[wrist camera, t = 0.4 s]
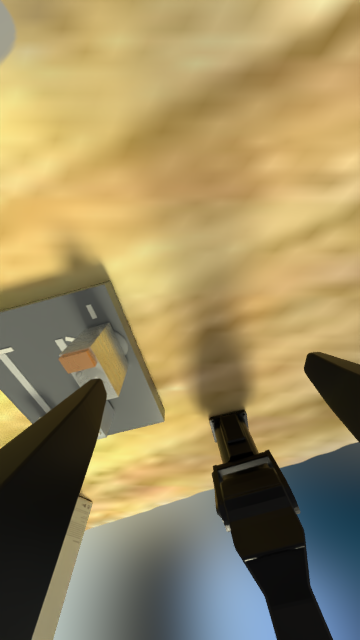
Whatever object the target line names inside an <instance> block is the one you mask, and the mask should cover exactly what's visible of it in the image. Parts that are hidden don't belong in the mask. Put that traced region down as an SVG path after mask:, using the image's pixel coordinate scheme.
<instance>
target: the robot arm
mask: <svg viewBox="0 0 360 640" xmlns="http://www.w3.org/2000/svg"><path fill="white" fill-rule="evenodd" d="M304 371H305V374H306V375H307V376H308V378H309V379H310V381H311V382H312V383H313V385H314V386H315V388H316V389H317V390H318V392H319V393H320V395H321V396H322V397H323V399H324V400H325V402H326V403H327V404H328V406H329V407H330V408H331V409H332V411H333V412H334V413H335V414H336V415H337V417H338V418H339V419H340V420H341V421H342V422H343V424H344V425H345V426H346V427H347V428H348V430H349V431H350V432H351V433H352V434H353V435H354V437H355V438H356V439H357V440H358V441H359V443H360V364H356V363H353V362H350V361H347V360H344V359H340V358H337V357H334V356H331V355H328V354H325V353H321V352H312V353H309V354H308V355H307V358H306V362H305V366H304ZM106 399H107V392H106V389H105V387H104V384H103V381H102V379H100V378H98V379H91V380H89V381H88V382H86V383H85V384H84V385H83V386H81V387H80V388H79V389H77V390H76V391H75V392H74V393H72V394H71V395H70V396H68V397H67V398H66V399H64V400H63V401H62V402H61V403H59V404H58V405H57V406H55V407H54V408H53V409H51V410H50V411H49V412H48V413H46V414H45V415H44V416H42V417H41V418H40V419H38V420H37V421H36V422H35V423H33V424H32V425H31V426H29V427H28V428H27V429H25V430H24V431H23V432H22V433H20V434H19V435H18V436H16V437H15V438H14V439H12V440H11V441H10V442H9V443H7V444H6V445H5V446H3V447H2V448H1V449H0V640H32V637H33V634H34V631H35V628H36V624H37V621H38V618H39V615H40V612H41V609H42V606H43V603H44V600H45V597H46V594H47V591H48V588H49V585H50V582H51V579H52V576H53V573H54V570H55V567H56V564H57V560H58V557H59V554H60V551H61V548H62V545H63V542H64V539H65V536H66V533H67V530H68V527H69V524H70V521H71V518H72V515H73V512H74V509H75V506H76V503H77V499H78V496H79V493H80V490H81V487H82V484H83V481H84V478H85V475H86V472H87V469H88V466H89V463H90V460H91V457H92V454H93V451H94V448H95V445H96V441H97V438H98V434H99V430H100V426H101V422H102V417H103V413H104V408H105V404H106ZM209 421H210V425H211V429H212V433H213V436H214V440H215V442H217V443H218V447H219V451H220V454H221V458H222V462H223V464H221V465H214V466H213V470H214V471H213V473H212V477H213V482H214V489H215V502H216V511H217V514H218V515H219V516H220V517H221V518H222V521H223V523H224V525H225V527H226V530H227V532H230V531H231V534H232V538H233V543H234V546H235V548H236V551H237V552H238V554H239V556H240V557H241V558H242V560H243V562H244V564H245V565H246V567H247V568H248V570H249V571H250V573H251V575H252V576H253V578H254V580H255V581H256V583H257V585H258V586H259V587H260V589H261V591H262V593H263V594H264V596H265V599H266V602H267V606H268V609H269V613H270V616H271V620H272V623H273V627H274V630H275V634H276V638H277V640H333V638H332V636H331V634H330V631H329V629H328V627H327V624H326V622H325V620H324V617H323V615H322V613H321V610H320V608H319V605H318V603H317V601H316V598H315V596H314V594H313V591H312V589H311V586H310V579H309V570H308V561H307V551H306V542H305V533H304V529H303V527H302V525H301V523H300V520H299V518H298V516H297V514H299V513H300V510H299V507H298V505H297V502H296V500H295V497H294V495H293V493H292V491H291V489H290V487H289V485H288V483H287V481H286V479H285V477H284V476H283V474H282V472H281V470H280V468H279V467H278V465H277V463H276V461H275V460H274V458H273V456H272V454H271V453H270V451H269V450H266V451H265V452H262V453H259V452H258V450H257V448H256V446H255V443H254V441H253V439H252V437H251V434H250V432H249V429H248V421H247V414H246V411H245V410H242V411H238V412H234V413H229V414H225V415H221V416H217V417H213V418H210V419H209Z"/></svg>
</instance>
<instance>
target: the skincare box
mask: <svg viewBox="0 0 360 640" xmlns="http://www.w3.org/2000/svg"><path fill="white" fill-rule="evenodd" d="M92 504H93V503H92V502H90V501H88V500H86V499H84V498H81V497H79V496H78V499H77V503H76V506H75V509H74V512H73V515H72V518H71V521H70V524H69V527H68V530H67V533H66V536H65V539H64V542H63V545H62V548H61V551H60V554H59V557H58V560H57V564H56V567H55V570H54V573H53V576H52V579H51V582H50V585H49V588H48V591H47V594H46V597H45V600H44V603H43V606H42V609H41V612H40V615H39V618H38V621H37V624H36V628H35V631H34V634H33V637H32V640H53V637H54V634H55V631H56V627H57V624H58V620H59V617H60V613H61V610H62V606H63V603H64V599H65V596H66V593H67V589H68V586H69V582H70V579H71V575H72V572H73V568H74V565H75V562H76V558H77V555H78V551H79V548H80V544H81V541H82V537H83V534H84V531H85V527H86V524H87V520H88V517H89V514H90V510H91V507H92Z"/></svg>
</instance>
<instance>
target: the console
mask: <svg viewBox="0 0 360 640" xmlns="http://www.w3.org/2000/svg"><path fill="white" fill-rule="evenodd" d="M105 323H110V325H111V327H112V329H113V331H114V333H115V336H116V338H117V340H118V342H119V344H120V346H121V348H122V351H123V353H124V355H125V357H126V359H127V361H128V363H129V366H128V369H127V372H126V375H125V378H124V382H123V385H122V388H121V391H120V394H119V397H117V398H113V399H109V400H108V402H109V403H110V405H111V407H112V408H113V410H114V416H113V419H112V422H111V425H110V428H109V431H108V434H107V435H111V434H115V433H119V432H124V431H128V430H132V429H136V428H140V427H144V426H148V425H153V424H157V423H161V422H164V415H165V410H164V408H163V405H162V403H161V401H160V398H159V396H158V393H157V391H156V389H155V386H154V384H153V381H152V379H151V377H150V374H149V372H148V369H147V367H146V365H145V362H144V360H143V357H142V355H141V353H140V350H139V348H138V346H137V343H136V341H135V338H134V336H133V334H132V331H131V329H130V326H129V324H128V322H127V319H126V317H125V314H124V312H123V310H122V307H121V305H120V303H119V300H118V298H117V295H116V293H115V291H114V288H113V286H112V283H111V281H108V282H105V283H101V284H97V285H94V286H90V287H86V288H83V289H79V290H75V291H72V292H68V293H64V294H61V295H57V296H53V297H50V298H46V299H42V300H39V301H35V302H31V303H27V304H24V305H20V306H16V307H13V308H9V309H5V310H2V311H0V390H1V391H2V392H3V393H4V394H5V395H6V396H7V397H8V398H9V399H10V400H11V401H12V403H13V404H14V405H15V406H16V407H17V408H18V409H19V410H20V411H21V412H22V413H23V414H24V415H25V416H26V417H27V419H28V420H29V421H30V422H31V423H32V424H33V423H35V422H36V421H37V420H38V418H39V417H42V416H44V415H45V414H46V413H48V412H49V411H50V410H51V409H53V408H54V407H55V406H57V405H58V404H59V403H61V402H62V401H63V400H64V399H66V398H67V397H68V396H70V395H71V394H72V393H74V392H75V391H76V390H77V389H79V388H80V386H79V385H78V383H77V382H76V380H75V379H74V377H73V376H72V374H71V373H69V374H68V373H67V371H66V370H65V368H64V367H63V365H62V364H61V363H60V361H59V360H58V358H59V357H60V356H59V354H60V353H61V352H62V351H63V350H64V349H65V348H66V347H67V346H68V345H69V344H70V343H71V342H72V341H73V340H74V339H75V338H76V337H78V336H79V335H80V334H81V333H82V332H83V331H84V330H85V329H86V328H90V327H94V326H98V325H101V324H105ZM106 401H107V400H106Z"/></svg>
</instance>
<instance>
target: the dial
mask: <svg viewBox="0 0 360 640" xmlns="http://www.w3.org/2000/svg"><path fill="white" fill-rule="evenodd" d="M59 356H60V357H59V358H58V360H59V361H60V363H61V364H62V365H63V367H64V368H65V370H66V371H67V373H68V374H69V373H71V374H72V376H73V377H74V379H75V380H76V382H77V383H78V385H79V386H80V387H81V386H83V385H84V384H85V383H86V382H88V381H89V380H91V379H98V378H100V379H102V381H103V384H104V387H105V389H106V392H107V399H106V400H109V399H113V398H117V397H119V394H120V391H121V388H122V385H123V382H124V378H125V375H126V372H127V369H128V366H129V363H128V361H127V359H126V357H125V355H124V353H123V351H122V348H121V346H120V344H119V342H118V340H117V338H116V336H115V333H114V331H113V329H112V327H111V325H110V323H105V324H101V325H98V326H94V327H90V328H86V329H85V330H84V331H83V332H82V333H81V334H80V335H79V336H78V337H76V338H75V339H74V340H73V341H72V342H71V343H70V344H69V345H68V346H67V347H66V348H65V349H64V350H63V351H62V352H61V353H60V354H59Z"/></svg>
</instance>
